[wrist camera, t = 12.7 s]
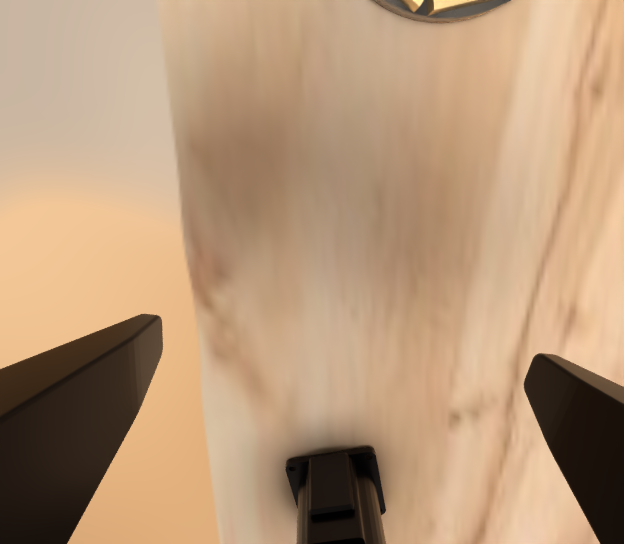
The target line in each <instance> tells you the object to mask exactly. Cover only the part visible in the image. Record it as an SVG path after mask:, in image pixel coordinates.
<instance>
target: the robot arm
mask: <svg viewBox="0 0 624 544" xmlns="http://www.w3.org/2000/svg"><path fill="white" fill-rule="evenodd" d="M162 350H163V338H162V320H161V317H160V316H157V315H150V314H141V315H138V316H135V317H133V318H130V319H128V320H125V321H123V322H120V323H118V324H115V325H112V326H110V327H107V328H105V329H102V330H99V331H97V332H95V333H92V334H89V335H87V336H84V337H82V338H79V339H76V340H74V341H71V342H69V343H66V344H64V345H61V346H58V347H56V348H53V349H51V350H48V351H46V352H43V353H41V354H38V355H36V356H33V357H30V358H28V359H25V360H23V361H20V362H18V363H15V364H12V365H10V366H7V367H5V368H2V369H0V544H67V543H68V541H69V539H70V537H71V536H72V534H73V532H74V530H75V528H76V526H77V525H78V523H79V521H80V519H81V517H82V515H83V513H84V512H85V510H86V508H87V506H88V504H89V502H90V501H91V499H92V497H93V495H94V493H95V491H96V490H97V488H98V486H99V484H100V482H101V480H102V479H103V477H104V475H105V473H106V471H107V469H108V467H109V466H110V464H111V462H112V460H113V458H114V457H115V455H116V453H117V451H118V449H119V447H120V446H121V444H122V442H123V440H124V438H125V436H126V434H127V433H128V431H129V429H130V427H131V425H132V424H133V422H134V420H135V418H136V416H137V414H138V412H139V410H140V407H141V405H142V403H143V400H144V398H145V395H146V393H147V390H148V388H149V385H150V383H151V380H152V378H153V375H154V373H155V370H156V368H157V365H158V363H159V360H160V358H161V354H162ZM524 390H525V393H526V395H527V398H528V400H529V402H530V405H531V407H532V409H533V412H534V414H535V417H536V419H537V421H538V424H539V426H540V428H541V431H542V433H543V436H544V438H545V440H546V442H547V445H548V447H549V449H550V451H551V453H552V455H553V457H554V459H555V461H556V463H557V464H558V466H559V468H560V470H561V472H562V474H563V476H564V477H565V479H566V481H567V483H568V485H569V487H570V488H571V490H572V492H573V494H574V496H575V498H576V500H577V501H578V503H579V505H580V507H581V509H582V511H583V513H584V514H585V516H586V518H587V520H588V522H589V524H590V526H591V527H592V529H593V531H594V533H595V535H596V537H597V539H598V540H599V542H600V544H624V387H623V386H620V385H618V384H616V383H614V382H612V381H610V380H608V379H606V378H604V377H601V376H599V375H597V374H595V373H593V372H591V371H589V370H587V369H584V368H582V367H580V366H578V365H576V364H574V363H572V362H570V361H568V360H565V359H563V358H561V357H559V356H557V355H553V354H543V353H539V354H537V355H535V356H534V358H533V360H532V362H531V365H530V368H529V370H528V373H527V375H526V378H525V381H524ZM291 466H294V467H291ZM286 473H287V476H288V479H289V482H290V486H291V489H292V492H293V495H294V499H295V502H296V505H297V508H298V516H297V544H386V541H385V535H384V530H383V524H382V518H381V515H382V514H384V513H385V512H386V508H385V503H384V498H383V492H382V487H381V481H380V476H379V471H378V465H377V460H376V455H375V451H374V449H373V448H370V447H366V448H360V449H353V450H347V451H340V452H334V453H327V454H321V455H314V456H308V457H301V458H295V459H290V460H288V461H287V462H286Z"/></svg>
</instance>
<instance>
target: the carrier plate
mask: <svg viewBox="0 0 624 544" xmlns="http://www.w3.org/2000/svg"><path fill="white" fill-rule="evenodd" d="M374 1H375V2H377V3H378V4H380V5H381V6H382V7H384V8H386V9H388V10H390V11H392V12H394V13H396V14H398V15H400V16H404V17H407V18H410V19H413V20H417V21H424V22H430V23H449V22H456V21H462V20H467V19H470V18H473V17H477V16H480V15H483V14H485V13H487V12H490V11H492V10H494V9H496V8H498V7H500V6H502V5H504V4H505V3H507V2H509V1H510V0H374Z"/></svg>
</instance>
